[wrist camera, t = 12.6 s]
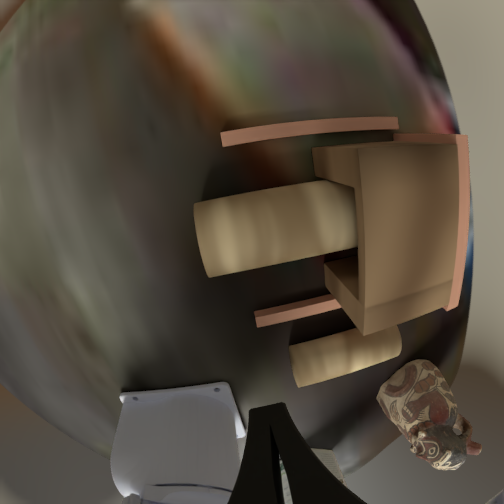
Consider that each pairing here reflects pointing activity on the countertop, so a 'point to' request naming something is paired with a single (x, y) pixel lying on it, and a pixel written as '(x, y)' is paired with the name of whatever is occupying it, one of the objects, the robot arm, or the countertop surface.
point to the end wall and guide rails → (381, 123)
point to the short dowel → (342, 354)
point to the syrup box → (326, 458)
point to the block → (395, 229)
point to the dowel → (275, 226)
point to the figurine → (427, 415)
